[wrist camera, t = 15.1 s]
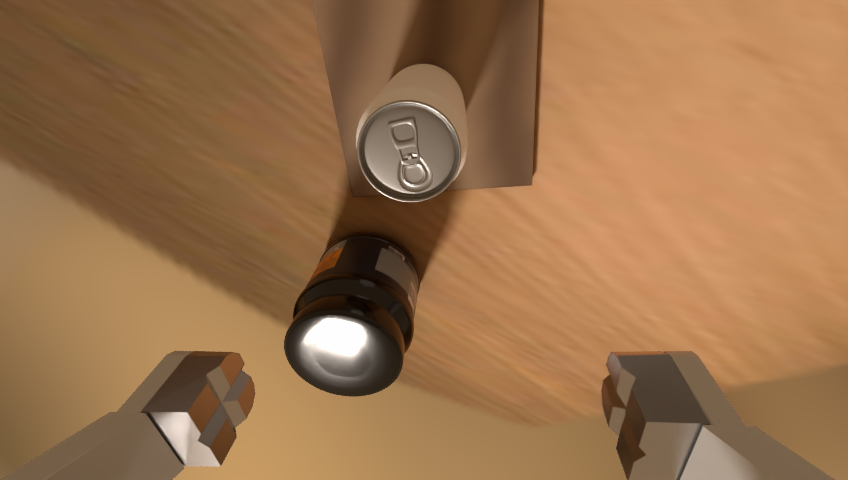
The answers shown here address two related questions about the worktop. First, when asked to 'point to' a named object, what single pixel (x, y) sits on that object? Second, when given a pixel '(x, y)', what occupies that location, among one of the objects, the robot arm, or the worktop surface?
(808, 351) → the worktop surface
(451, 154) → the can
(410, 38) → the walnut board
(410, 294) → the supplement container
